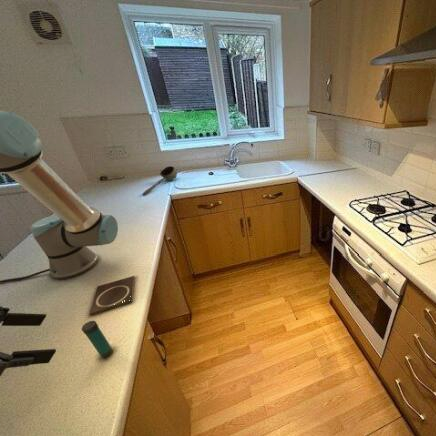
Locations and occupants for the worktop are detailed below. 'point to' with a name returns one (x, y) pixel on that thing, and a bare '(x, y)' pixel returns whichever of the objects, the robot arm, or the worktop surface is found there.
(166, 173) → the ladle
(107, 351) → the marker
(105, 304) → the induction cooktop
